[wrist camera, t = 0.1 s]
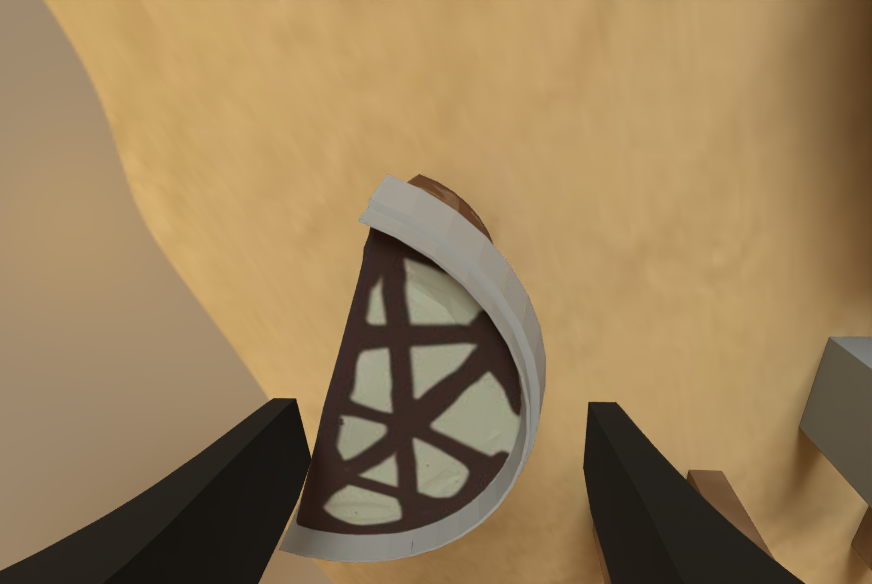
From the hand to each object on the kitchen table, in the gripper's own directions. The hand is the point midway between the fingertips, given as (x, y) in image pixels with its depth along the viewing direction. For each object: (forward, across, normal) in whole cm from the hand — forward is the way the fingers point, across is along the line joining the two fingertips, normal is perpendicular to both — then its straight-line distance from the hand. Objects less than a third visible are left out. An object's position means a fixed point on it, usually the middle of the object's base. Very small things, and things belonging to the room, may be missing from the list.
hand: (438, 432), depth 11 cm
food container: (+10, 0, +1) cm, 10 cm away
